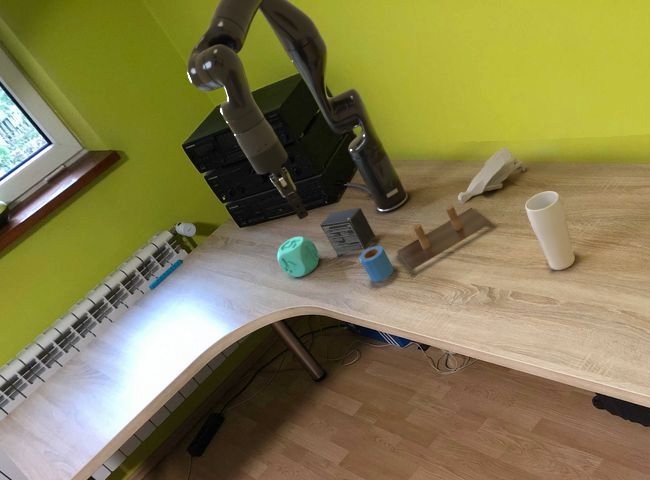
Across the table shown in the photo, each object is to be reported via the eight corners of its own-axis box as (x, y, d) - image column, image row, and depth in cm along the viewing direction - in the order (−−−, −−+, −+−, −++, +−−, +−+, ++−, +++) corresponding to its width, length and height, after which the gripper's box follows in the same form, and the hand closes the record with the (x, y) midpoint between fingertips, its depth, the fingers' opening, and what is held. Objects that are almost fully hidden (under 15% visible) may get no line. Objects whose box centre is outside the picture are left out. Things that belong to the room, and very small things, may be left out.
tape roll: (370, 279, 157) (356, 255, 152) (391, 267, 157) (378, 242, 153) (377, 289, 152) (363, 264, 148) (399, 276, 152) (385, 251, 148)
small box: (379, 238, 171) (361, 205, 165) (368, 253, 168) (349, 220, 161) (348, 242, 177) (330, 211, 171) (337, 257, 173) (318, 225, 167)
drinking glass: (581, 250, 131) (561, 187, 122) (576, 270, 126) (556, 206, 118) (549, 255, 134) (528, 194, 125) (543, 275, 130) (521, 213, 121)
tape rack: (398, 256, 160) (385, 232, 155) (473, 212, 161) (462, 186, 157) (414, 274, 150) (401, 249, 146) (493, 227, 152) (483, 201, 147)
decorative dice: (310, 275, 172) (295, 251, 167) (288, 279, 175) (272, 256, 171) (323, 257, 177) (308, 233, 172) (300, 261, 181) (286, 238, 176)
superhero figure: (512, 168, 173) (451, 201, 169) (504, 135, 168) (441, 169, 163) (534, 175, 165) (471, 210, 161) (527, 142, 160) (461, 177, 155)
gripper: (282, 144, 127) (322, 212, 136) (271, 129, 138) (309, 193, 148) (249, 162, 126) (291, 230, 136) (241, 146, 138) (281, 209, 147)
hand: (300, 211), depth 142 cm, fingers open, 8 cm apart
